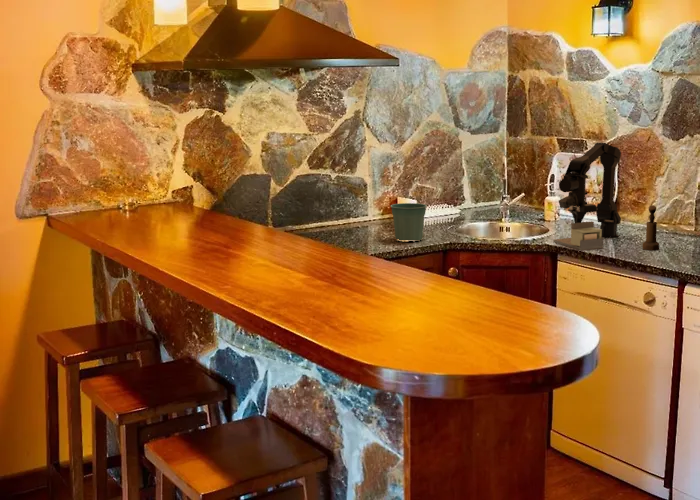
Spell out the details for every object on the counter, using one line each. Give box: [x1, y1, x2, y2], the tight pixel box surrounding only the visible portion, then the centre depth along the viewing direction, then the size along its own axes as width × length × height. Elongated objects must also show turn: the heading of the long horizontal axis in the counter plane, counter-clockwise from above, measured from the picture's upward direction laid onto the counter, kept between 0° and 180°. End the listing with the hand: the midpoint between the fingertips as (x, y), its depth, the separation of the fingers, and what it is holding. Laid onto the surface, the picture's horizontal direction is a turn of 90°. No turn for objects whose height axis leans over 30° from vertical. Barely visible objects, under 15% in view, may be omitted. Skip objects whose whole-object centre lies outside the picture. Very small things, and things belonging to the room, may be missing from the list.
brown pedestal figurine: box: [642, 205, 660, 251], centre depth 334 cm, size 7×6×18 cm
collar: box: [582, 232, 597, 240], centre depth 342 cm, size 6×6×5 cm
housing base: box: [553, 237, 605, 251], centre depth 348 cm, size 11×20×4 cm, turn 19°
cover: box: [570, 220, 602, 246], centre depth 341 cm, size 10×7×9 cm
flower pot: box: [390, 202, 428, 240], centre depth 368 cm, size 16×16×16 cm
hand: (577, 226), depth 347 cm, fingers closed
